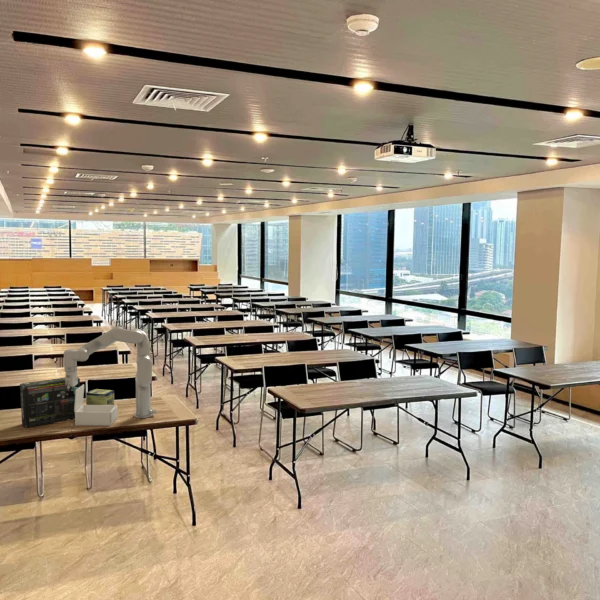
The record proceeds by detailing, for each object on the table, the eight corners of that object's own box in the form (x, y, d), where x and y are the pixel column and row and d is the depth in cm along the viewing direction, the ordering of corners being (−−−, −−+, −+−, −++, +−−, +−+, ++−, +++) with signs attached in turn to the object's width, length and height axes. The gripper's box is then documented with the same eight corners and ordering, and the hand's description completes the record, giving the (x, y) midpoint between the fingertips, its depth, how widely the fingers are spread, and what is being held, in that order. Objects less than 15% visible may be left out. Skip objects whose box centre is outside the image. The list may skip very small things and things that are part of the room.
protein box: (106, 416, 382) (106, 394, 381) (85, 414, 385) (85, 392, 384) (114, 412, 393) (114, 390, 391) (94, 410, 396) (94, 388, 394)
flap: (84, 384, 376) (74, 383, 375) (76, 390, 361) (66, 389, 361) (82, 404, 377) (73, 404, 377) (74, 411, 362) (65, 410, 362)
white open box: (118, 418, 380) (118, 405, 379) (111, 425, 364) (111, 412, 363) (83, 417, 379) (83, 404, 378) (75, 425, 363) (74, 411, 362)
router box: (77, 414, 386) (75, 375, 384) (82, 418, 377) (81, 378, 375) (19, 424, 364) (18, 383, 361) (24, 428, 355) (22, 386, 353)
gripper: (72, 371, 359) (73, 399, 361) (80, 366, 375) (81, 393, 377) (60, 371, 359) (61, 399, 361) (69, 366, 374) (70, 393, 376)
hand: (71, 396), depth 369 cm, fingers closed
